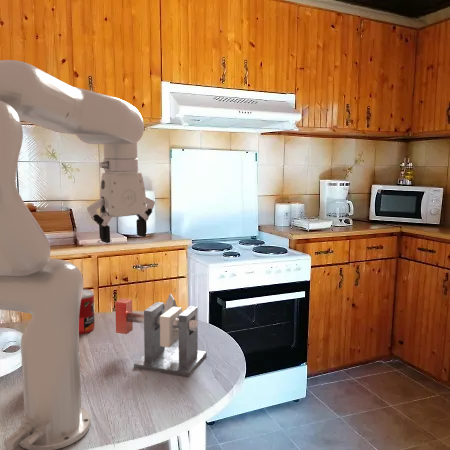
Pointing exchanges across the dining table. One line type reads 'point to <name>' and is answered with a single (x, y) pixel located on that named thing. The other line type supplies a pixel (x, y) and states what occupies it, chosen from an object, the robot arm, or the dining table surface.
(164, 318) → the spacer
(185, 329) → the bearing block
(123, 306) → the shaft
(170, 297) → the grey pointed block
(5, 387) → the dining table surface
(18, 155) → the robot arm
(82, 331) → the canned food
